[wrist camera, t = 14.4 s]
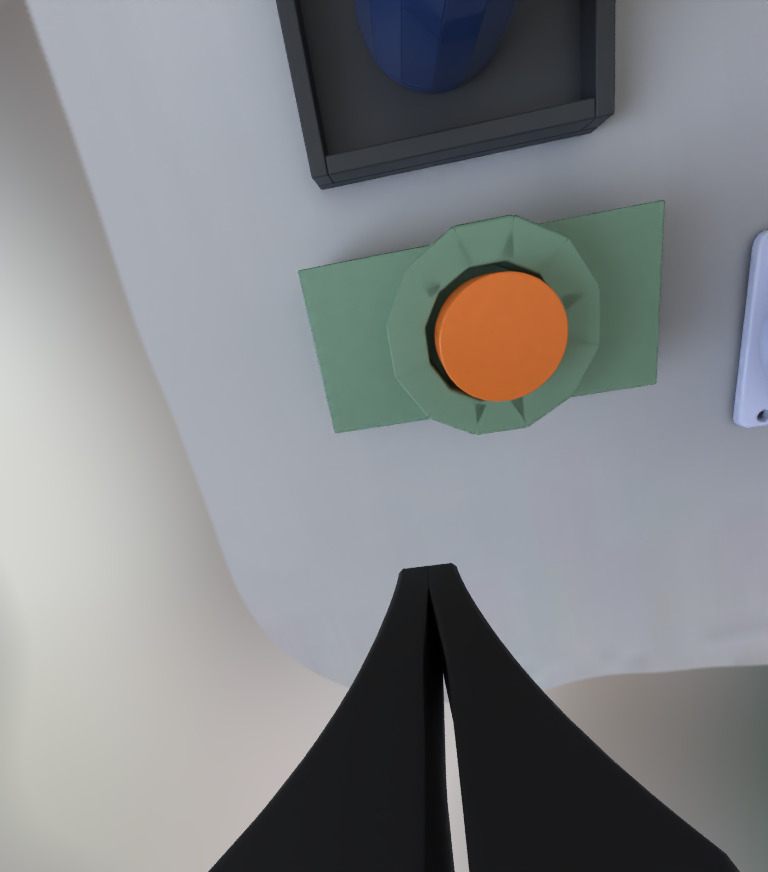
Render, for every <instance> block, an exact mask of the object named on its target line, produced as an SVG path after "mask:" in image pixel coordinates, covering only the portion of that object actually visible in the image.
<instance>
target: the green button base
mask: <svg viewBox="0 0 768 872" xmlns="http://www.w3.org/2000/svg"><path fill="white" fill-rule="evenodd" d="M664 204H665V201H664V200H660V201H655V202H650V203H645V204H639V205H634V206H629V207H624V208H619V209H614V210H608V211H603V212H598V213H593V214H588V215H583V216H577V217H572V218H567V219H562V220H557V221H552V222H546V223H541V224H536V223H534V222H531V221H529V220H527V219H524V218H522V217H519V216H517V215H514V216H513V215H507V216H502V217H497V218H492V219H487V220H482V221H477V222H471V223H466V224H461V225H456V226H455V227H451V228H450V229H449V230H448V231H447V232H446V233H445V234H443V235H442V236H441V237H440V238H439V239H438V240H437V241H436V242H434V243H433V244H432V245H428V246H422V247H417V248H412V249H407V250H402V251H397V252H391V253H386V254H381V255H376V256H371V257H366V258H360V259H355V260H350V261H345V262H340V263H335V264H329V265H324V266H319V267H314V268H309V269H304V270H299V271H298V273H299V278H300V282H301V287H302V291H303V295H304V300H305V304H306V309H307V313H308V317H309V322H310V326H311V331H312V335H313V339H314V344H315V348H316V353H317V357H318V361H319V366H320V370H321V375H322V379H323V383H324V388H325V392H326V397H327V401H328V405H329V410H330V414H331V419H332V423H333V427H334V432H335V433H341V432H348V431H354V430H361V429H367V428H373V427H380V426H386V425H393V424H399V423H406V422H412V421H419V420H425V419H433V420H436V421H438V422H441V423H444V424H447V425H449V426H452V427H455V428H458V429H460V430H463V431H466V432H468V433H471V434H477V435H479V434H486V433H492V432H499V431H506V430H512V429H519V428H525V427H527V426H530V425H531V424H533V423H534V422H536V421H537V420H538V419H540V418H541V417H543V416H544V415H546V414H547V413H548V412H550V411H551V410H553V409H554V408H556V407H557V406H558V405H560V404H561V403H563V402H564V401H565V400H567V399H568V398H570V397H574V396H581V395H587V394H594V393H600V392H607V391H613V390H620V389H626V388H632V387H639V386H645V385H652V384H656V377H657V356H658V334H659V312H660V291H661V269H662V247H663V225H664ZM503 271H517V272H523V273H526V274H530V275H533V276H535V277H537V278H539V279H541V280H542V281H543V282H545V283H546V284H548V285H549V286H550V287H551V288H552V289H553V290H554V291H555V293H556V294H557V295H558V297H559V298H560V300H561V302H562V304H563V306H564V309H565V311H566V315H567V320H568V340H567V346H566V349H565V353H564V355H563V358H562V360H561V362H560V364H559V365H558V367H557V369H556V370H555V372H554V373H553V374H552V375H551V377H550V378H549V379H548V380H547V381H546V382H545V383H544V384H542V385H541V386H540V387H539V388H537V389H536V390H534V391H533V392H531V393H529V394H527V395H525V396H523V397H520V398H517V399H513V400H509V401H487V400H482V399H479V398H476V397H474V396H471V395H469V394H468V393H466V392H464V391H463V390H462V389H460V388H459V387H458V386H457V385H456V384H455V383H454V382H453V381H452V380H451V378H450V377H449V375H448V374H447V372H446V370H445V368H444V367H443V365H442V363H441V361H440V359H439V357H438V354H437V351H436V346H435V338H434V334H435V325H436V320H437V317H438V314H439V312H440V309H441V307H442V305H443V304H444V302H445V301H446V299H447V298H448V297H449V295H450V294H451V293H452V292H453V291H454V290H455V289H456V288H457V287H459V286H460V285H461V284H463V283H464V282H466V281H468V280H469V279H471V278H474V277H476V276H479V275H483V274H488V273H495V272H503Z"/></svg>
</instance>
